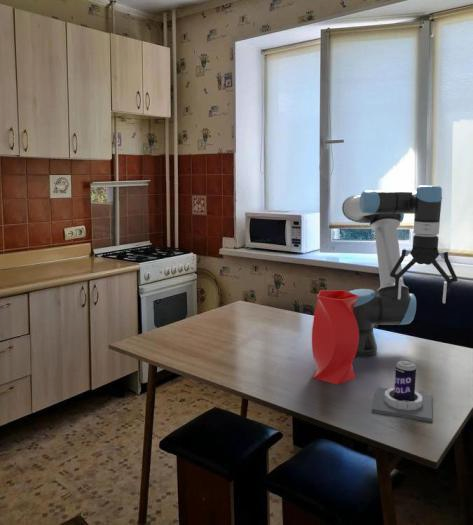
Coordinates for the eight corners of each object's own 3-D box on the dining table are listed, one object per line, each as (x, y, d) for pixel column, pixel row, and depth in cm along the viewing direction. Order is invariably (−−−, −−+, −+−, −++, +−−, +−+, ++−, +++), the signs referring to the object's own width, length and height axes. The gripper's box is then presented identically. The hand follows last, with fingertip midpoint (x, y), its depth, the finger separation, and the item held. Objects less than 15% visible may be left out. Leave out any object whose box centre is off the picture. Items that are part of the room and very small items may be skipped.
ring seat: (371, 412, 144) (372, 402, 144) (377, 389, 159) (377, 380, 159) (431, 422, 139) (432, 411, 138) (431, 398, 154) (432, 388, 153)
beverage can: (390, 398, 151) (392, 359, 149) (408, 397, 152) (411, 359, 150) (398, 406, 146) (400, 367, 143) (417, 405, 146) (420, 366, 144)
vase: (321, 364, 180) (324, 287, 175) (362, 371, 173) (366, 292, 168) (307, 379, 167) (310, 297, 162) (350, 388, 160) (354, 302, 155)
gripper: (383, 234, 161) (380, 299, 164) (470, 238, 152) (464, 306, 156) (385, 231, 167) (382, 294, 171) (468, 235, 159) (462, 301, 163)
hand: (421, 300), depth 163 cm, fingers open, 13 cm apart
